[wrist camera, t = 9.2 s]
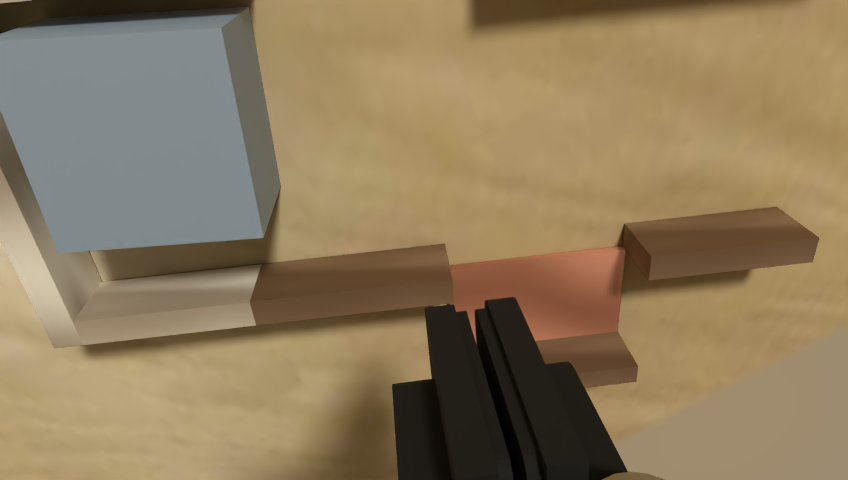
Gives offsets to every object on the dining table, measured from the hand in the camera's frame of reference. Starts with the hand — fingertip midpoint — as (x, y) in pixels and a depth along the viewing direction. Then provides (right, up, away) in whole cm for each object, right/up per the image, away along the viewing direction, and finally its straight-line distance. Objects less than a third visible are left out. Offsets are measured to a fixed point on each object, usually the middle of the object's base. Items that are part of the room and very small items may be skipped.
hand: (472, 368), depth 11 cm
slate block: (-9, +7, +8) cm, 14 cm away
